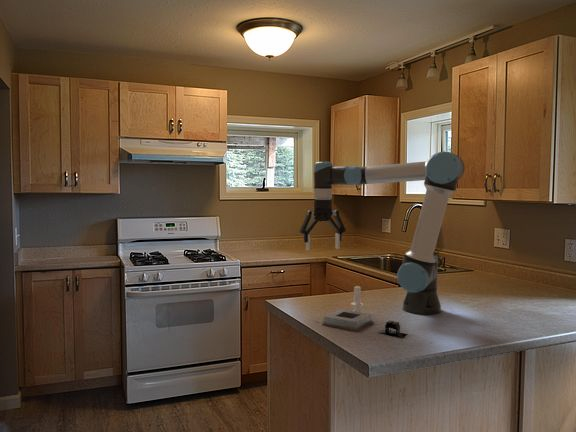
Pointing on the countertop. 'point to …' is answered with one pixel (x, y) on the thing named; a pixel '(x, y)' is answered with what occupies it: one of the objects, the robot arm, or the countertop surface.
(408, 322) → the countertop surface
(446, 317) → the countertop surface
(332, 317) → the block
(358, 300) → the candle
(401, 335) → the black bracket mount
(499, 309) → the countertop surface
